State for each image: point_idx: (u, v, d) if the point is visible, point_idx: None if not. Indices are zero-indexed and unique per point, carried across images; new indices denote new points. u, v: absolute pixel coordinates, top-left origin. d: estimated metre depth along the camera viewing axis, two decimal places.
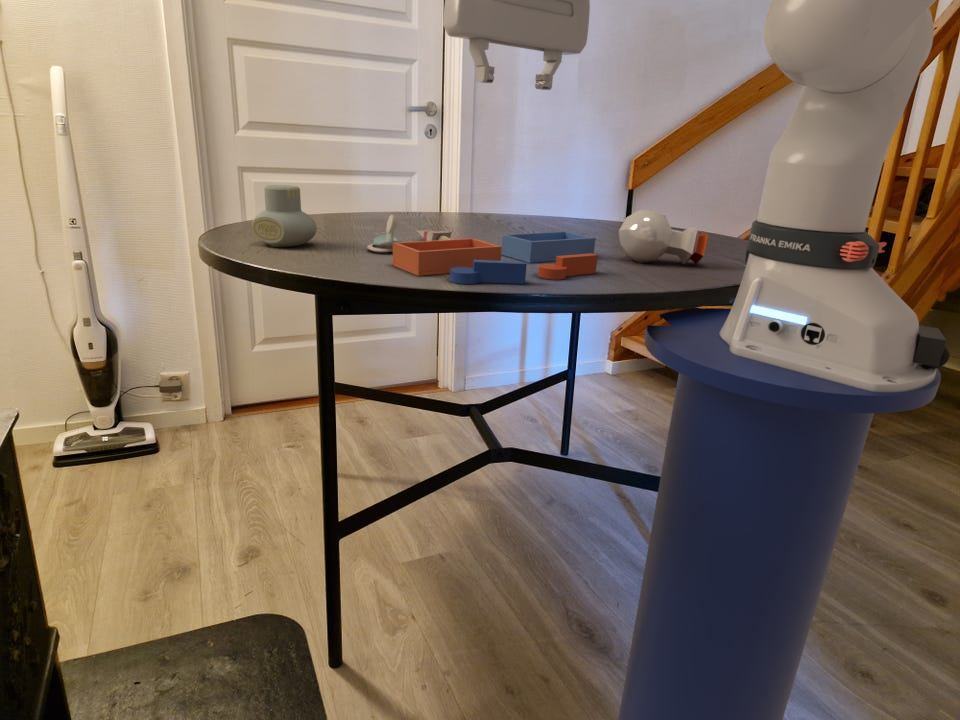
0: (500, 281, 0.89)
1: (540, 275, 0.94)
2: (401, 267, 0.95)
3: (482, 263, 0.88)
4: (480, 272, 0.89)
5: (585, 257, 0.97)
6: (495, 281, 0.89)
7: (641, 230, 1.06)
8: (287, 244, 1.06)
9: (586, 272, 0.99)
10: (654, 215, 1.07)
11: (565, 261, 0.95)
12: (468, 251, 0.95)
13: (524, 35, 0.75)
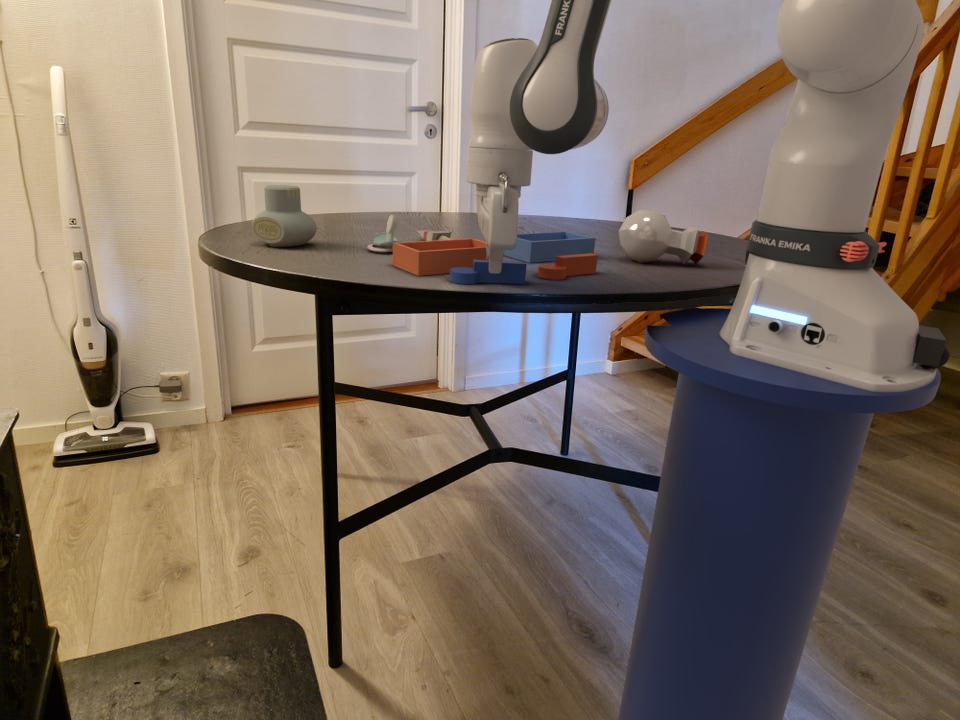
0: (500, 281, 0.89)
1: (540, 275, 0.94)
2: (401, 267, 0.95)
3: (482, 263, 0.88)
4: (480, 272, 0.89)
5: (585, 257, 0.97)
6: (495, 281, 0.89)
7: (641, 230, 1.06)
8: (287, 244, 1.06)
9: (586, 272, 0.99)
10: (654, 215, 1.07)
11: (565, 261, 0.95)
12: (468, 251, 0.95)
13: None
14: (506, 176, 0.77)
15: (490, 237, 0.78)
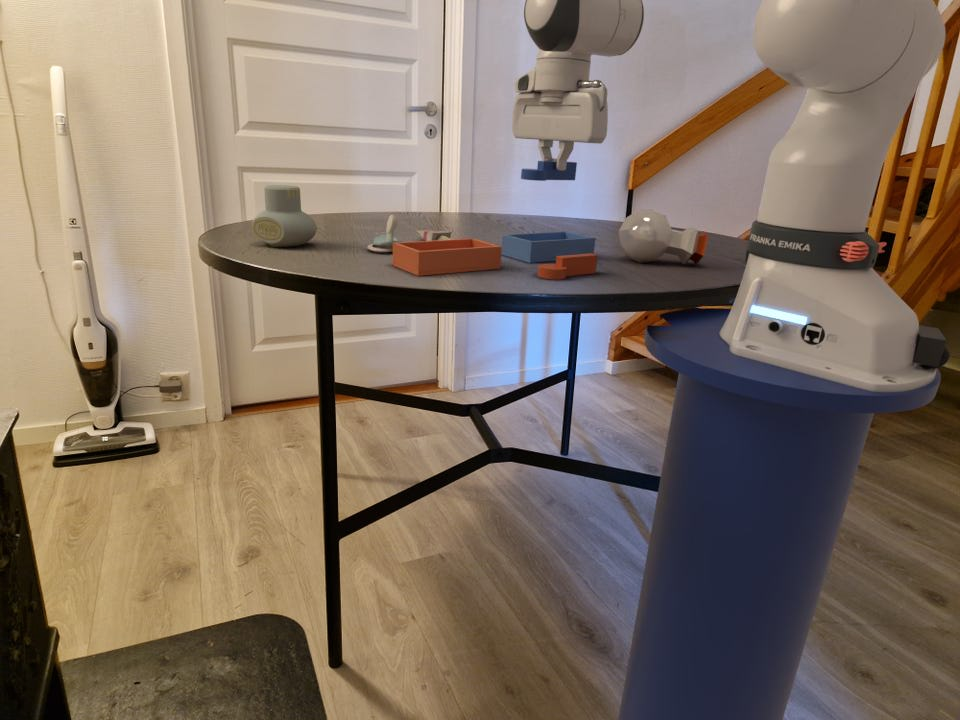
0: (559, 178, 1.06)
1: (540, 275, 0.94)
2: (401, 267, 0.95)
3: (549, 162, 1.04)
4: (547, 170, 1.04)
5: (585, 257, 0.97)
6: (556, 178, 1.06)
7: (641, 230, 1.06)
8: (287, 244, 1.06)
9: (586, 272, 0.99)
10: (654, 215, 1.07)
11: (565, 261, 0.95)
12: (468, 251, 0.95)
13: None
14: (600, 81, 0.94)
15: (591, 132, 0.95)
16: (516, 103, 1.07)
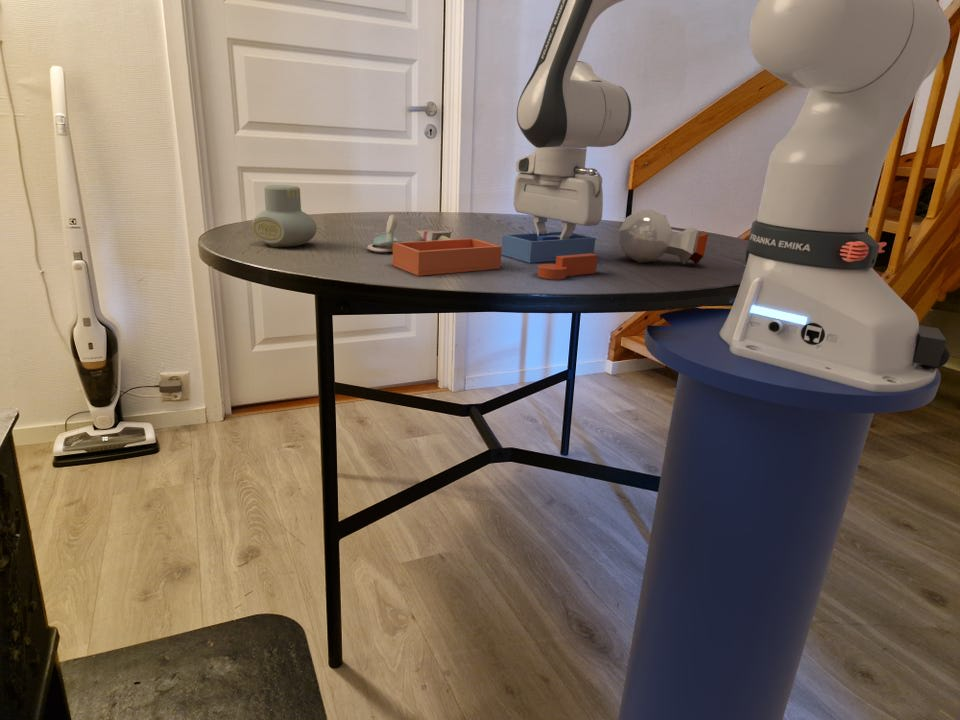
0: None
1: (540, 275, 0.94)
2: (401, 267, 0.95)
3: (547, 238, 1.10)
4: None
5: (585, 257, 0.97)
6: None
7: (641, 230, 1.06)
8: (287, 244, 1.06)
9: (586, 272, 0.99)
10: (654, 215, 1.07)
11: (565, 261, 0.95)
12: (468, 251, 0.95)
13: None
14: (595, 169, 1.01)
15: (587, 217, 1.02)
16: (517, 181, 1.14)
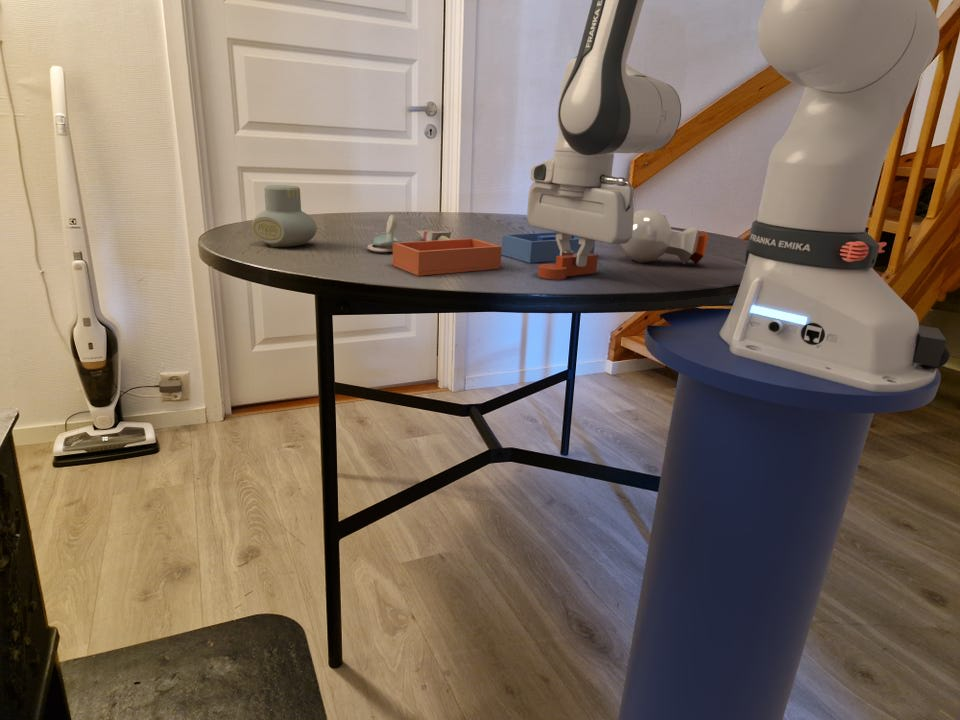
0: None
1: (540, 275, 0.94)
2: (401, 267, 0.95)
3: (547, 238, 1.10)
4: None
5: None
6: None
7: (641, 230, 1.06)
8: (287, 244, 1.06)
9: (586, 272, 0.99)
10: (654, 215, 1.07)
11: (566, 261, 0.95)
12: (468, 251, 0.95)
13: None
14: (625, 178, 0.86)
15: (616, 234, 0.87)
16: (532, 191, 0.99)
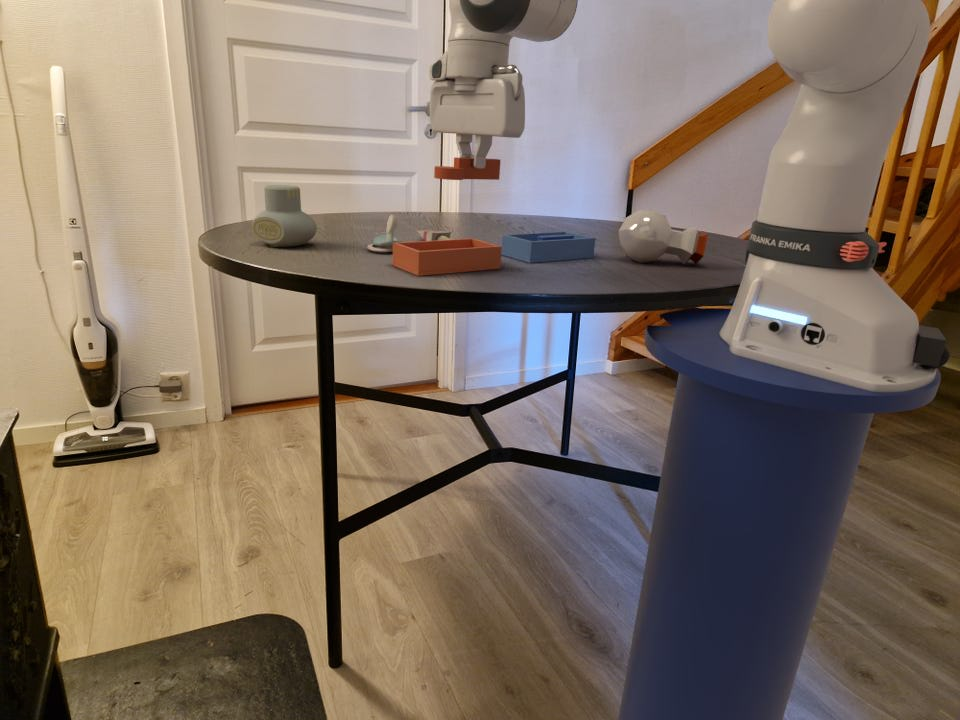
0: None
1: (435, 176, 0.91)
2: (401, 267, 0.95)
3: (547, 238, 1.10)
4: None
5: (486, 160, 0.94)
6: None
7: (641, 230, 1.06)
8: (287, 244, 1.06)
9: (488, 177, 0.95)
10: (654, 215, 1.07)
11: (463, 162, 0.91)
12: (468, 251, 0.95)
13: None
14: (514, 65, 0.82)
15: (505, 124, 0.83)
16: (432, 93, 0.95)
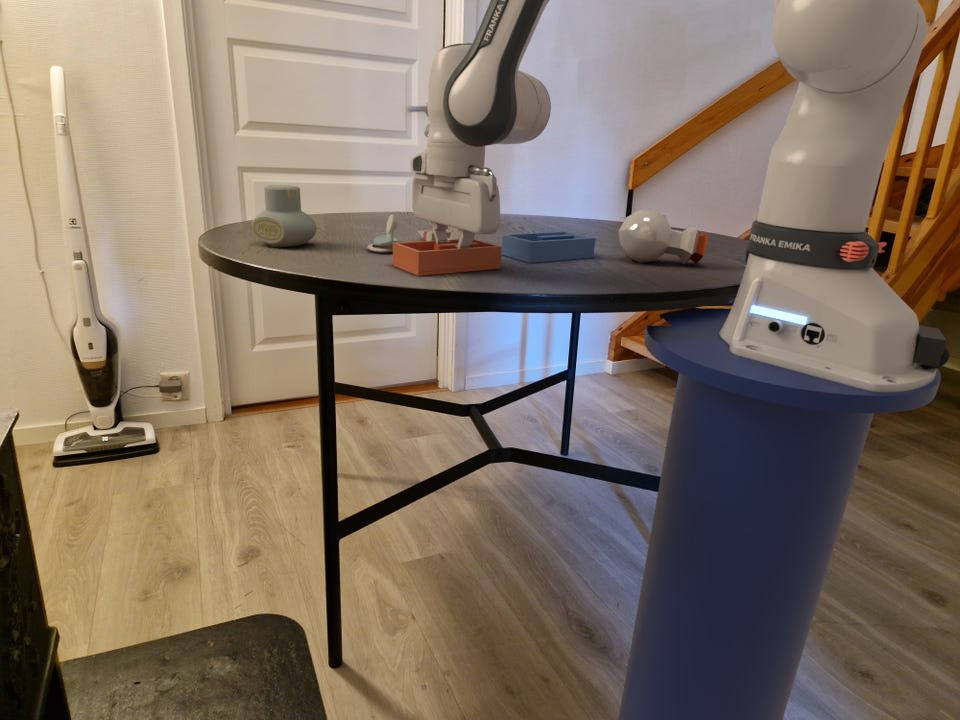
0: None
1: None
2: (401, 267, 0.95)
3: (547, 238, 1.10)
4: None
5: None
6: None
7: (641, 230, 1.06)
8: (287, 244, 1.06)
9: None
10: (654, 215, 1.07)
11: (442, 249, 0.96)
12: (468, 251, 0.95)
13: None
14: (489, 169, 0.87)
15: (481, 224, 0.88)
16: (413, 183, 1.00)
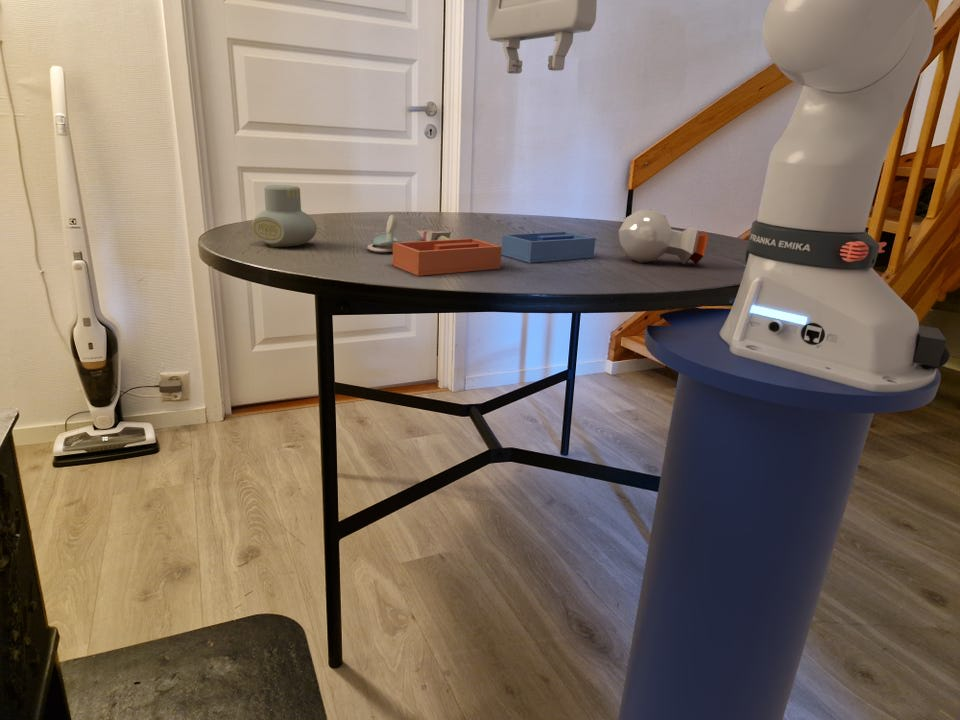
0: None
1: None
2: (401, 267, 0.95)
3: (547, 238, 1.10)
4: None
5: (465, 245, 0.98)
6: None
7: (641, 230, 1.06)
8: (287, 244, 1.06)
9: None
10: (654, 215, 1.07)
11: (442, 249, 0.96)
12: (468, 251, 0.95)
13: None
14: None
15: (577, 13, 0.79)
16: None
